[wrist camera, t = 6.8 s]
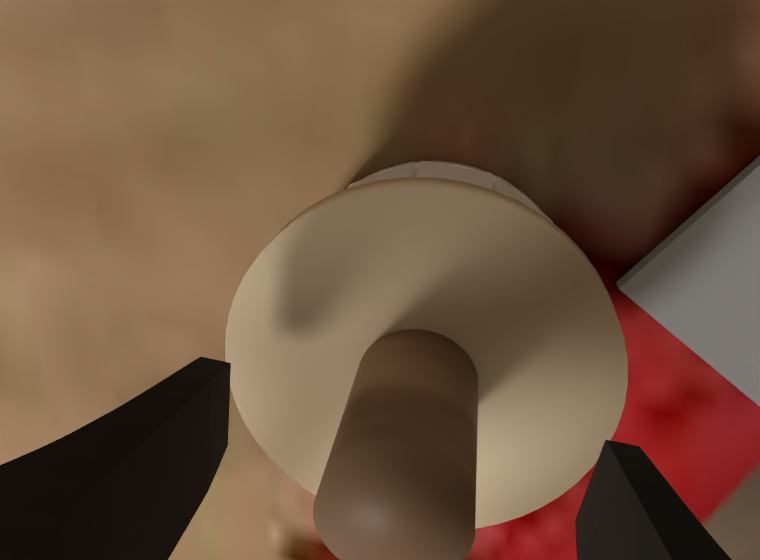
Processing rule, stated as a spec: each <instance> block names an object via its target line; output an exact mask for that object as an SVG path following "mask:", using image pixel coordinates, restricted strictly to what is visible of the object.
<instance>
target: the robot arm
mask: <svg viewBox="0 0 760 560" xmlns="http://www.w3.org/2000/svg"><path fill="white" fill-rule="evenodd" d="M230 372H231V363H228V362H223V361H219V360H214V359H209V358H204V357H200V358H198V359H196V360H195V361H193V362H191V363H190V364H188V365H187V366H185V367H183V368H182V369H180V370H179V371H177V372H175V373H174V374H172V375H171V376H169V377H167V378H166V379H164V380H163V381H161V382H159V383H158V384H156V385H155V386H153V387H151V388H150V389H148V390H147V391H145V392H143V393H142V394H140V395H138V396H137V397H135V398H133V399H132V400H130V401H128V402H127V403H125V404H123V405H122V406H120V407H118V408H117V409H115V410H113V411H111V412H109V413H107V414H106V415H104V416H102V417H100V418H98V419H96V420H95V421H93V422H91V423H89V424H87V425H85V426H83V427H82V428H80V429H78V430H76V431H74V432H72V433H71V434H68V435H66V436H64V437H62V438H60V439H58V440H56V441H54V442H52V443H50V444H48V445H46V446H44V447H41V448H39V449H37V450H35V451H32V452H30V453H28V454H26V455H23V456H21V457H19V458H16V459H14V460H12V461H9V462H7V463H4V464H2V465H0V560H168V558H169V557H170V555H171V553H172V552H173V550H174V548H175V547H176V545H177V543H178V541H179V540H180V538H181V536H182V535H183V533H184V531H185V530H186V528H187V526H188V525H189V523H190V521H191V519H192V518H193V516H194V514H195V513H196V511H197V509H198V507H199V506H200V504H201V502H202V501H203V499H204V497H205V495H206V494H207V492H208V490H209V488H210V485H211V483H212V481H213V479H214V476H215V474H216V472H217V470H218V467H219V465H220V462H221V460H222V458H223V455H224V453H225V450H226V448H227V446H228V423H229V397H230ZM575 521H576V545H577V560H731V559H730V558H729V556H728V555H727V554H726V553H725V552H724V551H723V549H722V548H721V547H720V546H719V545H718V544H717V542H716V541H715V540H714V539H713V538H712V537H711V536H710V534H709V533H708V532H707V531H706V529H705V528H704V527H703V526H702V525H701V523H700V522H699V521H698V520H697V519H696V517H695V516H694V515H693V514H692V512H691V511H690V510H689V509H688V507H687V506H686V505H685V504H684V502H683V501H682V500H681V499H680V497H679V496H678V495H677V494H676V492H675V491H674V490H673V488H672V487H671V486H670V485H669V483H668V482H667V481H666V480H665V478H664V477H663V476H662V474H661V473H660V472H659V471H658V469H657V468H656V467H655V466H654V464H653V463H652V462H651V460H650V459H649V458H648V457H647V456H646V454H645V453H644V452H643V451H642V450H641V448H640V447H639V446H634V445H629V444H625V443H620V442H615V441H610V440H605V442H604V445H603V448H602V450H601V453H600V456H599V458H598V461H597V464H596V466H595V469H594V472H593V474H592V477H591V480H590V482H589V485H588V488H587V490H586V493H585V496H584V498H583V501H582V504H581V507H580V509H579V512H578V515H577V517H576V520H575Z"/></svg>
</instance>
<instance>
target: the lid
mask: <svg viewBox="0 0 760 560" xmlns="http://www.w3.org/2000/svg"><path fill="white" fill-rule="evenodd" d="M225 360H226V362H228V363H231V372H230V387H231V390H232V394H233V397H234V400H235V403H236V405H237V407H238V410H239V412H240V414H241V416H242V418H243V421H244V422H245V424H246V426H247V427H248V429H249V431H250V432H251V434H252V435H253V437H254V439H255V440H256V441H257V443H258V444H259V445H260V446H261V448H262V449H263V450H264V452H265V453H266V454H267V455H268V457H269V458H270V459H271V460H272V461H273V462H274V463H275V464H276V465H277V466H278V467H279V468H280V469H281V470H282V471H283V472H284V473H285V474H287V475H288V476H289V477H290V478H292V479H293V480H294V481H295V482H296V483H298V484H299V485H300V486H301V487H303V488H304V489H306V490H308V491H309V492H311V493H312V494H314V495H315V496H316V497H315V501H314V507H313V516H314V522H315V526H316V529H317V531H318V534H319V536H320V537H321V539H322V541H323V542H324V544H325V545H326V546H327V548H328V549H329V550H330V551H331V552H332V553H333V554H334V555H335V556H336V557H337V558H339V559H340V560H463V559H464V558H465V557H466V556H467V554H468V553H469V551H470V549H471V547H472V544H473V541H474V537H475V529H476V528H481V527H486V526H491V525H496V524H500V523H503V522H506V521H509V520H512V519H515V518H518V517H521V516H523V515H526V514H528V513H530V512H532V511H534V510H537V509H539V508H541V507H543V506H544V505H546V504H548V503H549V502H551V501H553V500H554V499H556V498H558V497H559V496H561V495H562V494H563V493H565V492H566V491H567V490H568V489H570V488H571V487H572V486H573V485H575V484H576V483H577V482H578V481H579V480H580V479H581V478H582V477H583V476H584V475H585V474H586V473H587V472H588V471H589V470H590V469H591V468H592V467H593V466H594V464H595V463H596V462H597V460H598V458H599V456H600V453H601V450H602V448H603V445H604V442H605V440H611V438H612V436H613V434H614V432H615V430H616V428H617V426H618V423H619V420H620V417H621V414H622V411H623V408H624V403H625V397H626V391H627V385H628V359H627V353H626V347H625V341H624V335H623V332H622V329H621V326H620V323H619V320H618V317H617V314H616V311H615V309H614V306H613V304H612V301H611V298H610V296H609V293H608V291H607V289H606V288H605V286H604V284H603V282H602V280H601V278H600V276H599V274H598V272H597V271H596V269H595V268H594V266H593V265H592V264H591V262H590V261H589V260H588V258H587V257H586V255H585V254H584V253H583V251H582V250H581V249H580V248H579V247H578V246H577V245H576V244H575V243H574V242H573V241H572V240H571V239H570V238H569V237H568V236H567V235H566V234H565V233H564V231H562V230H561V229H560V228H558V227H557V226H556V225H555V224H553V223H552V222H551V221H549V220H548V219H547V218H546V217H544V216H543V215H542V214H540V213H538V212H537V211H535V210H533V209H532V208H530V207H528V206H526V205H525V204H523V203H521V202H520V201H518V200H516V199H513V198H511V197H509V196H506V195H504V194H501V193H499V192H497V191H494V190H492V189H489V188H485V187H481V186H478V185H474V184H471V183H467V182H463V181H456V180H449V179H442V178H435V177H402V178H393V179H384V180H377V181H373V182H369V183H365V184H361V185H357V186H353V187H350V188H348V189H345V190H343V191H340V192H338V193H335V194H333V195H330V196H328V197H326V198H324V199H323V200H321V201H319V202H317V203H316V204H314V205H312V206H310V207H309V208H307V209H305V210H304V211H303V212H302V213H300V214H299V215H298V216H296V217H295V218H294V219H292V220H291V221H290V222H289V223H287V224H286V225H285V226H284V227H283V228H282V229H281V230H280V232H279V233H278V234H277V235H276V236H275V237H274V238H273V239H272V240H271V241H270V242H269V243H268V245H267V246H266V247H265V248H264V249H263V251H262V252H261V253H260V254H259V256H258V257H257V258H256V260H255V261H254V263H253V264H252V266H251V267H250V268H249V270H248V271H247V273H246V274H245V276H244V278H243V280H242V282H241V284H240V286H239V288H238V290H237V292H236V294H235V297H234V300H233V303H232V307H231V310H230V313H229V316H228V323H227V330H226V337H225Z"/></svg>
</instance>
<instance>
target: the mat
mask: <svg viewBox="0 0 760 560" xmlns="http://www.w3.org/2000/svg"><path fill="white" fill-rule="evenodd" d="M616 284H617V286H618V288H619V290H621V291H622V292H623V293H624V294H625V295H627V296H628V297H629V298H630V299H631V300H633V301H634V302H635V303H636V304H637V305H639V306H640V307H641V308H642V309H643V310H645V311H646V312H647V313H648V314H649V315H651V316H652V317H653V318H654V319H655V320H657V321H658V322H659V323H660V324H661V325H663V326H664V327H665V328H666V329H667V330H669V331H670V332H671V333H672V334H673V335H675V336H676V337H677V338H678V339H679V340H681V341H682V342H683V343H684V344H685V345H687V346H688V347H689V348H690V349H691V350H693V351H694V352H695V353H696V354H697V355H699V356H700V357H701V358H702V359H703V360H705V361H706V362H707V363H708V364H709V365H711V366H712V367H713V368H714V369H715V370H716V371H718V372H719V373H720V374H721V375H722V376H724V377H725V378H726V379H727V380H728V381H730V382H731V383H732V384H733V385H734V386H736V387H737V388H738V389H739V390H740V391H742V392H743V393H744V394H745V395H746V396H748V397H749V398H750V399H751V400H752V401H754V402H755V403H756V404H757V405H758V406H760V155H759V156H758V157H757V158H756V159H755V160H754V161H753V162H752V163H750V164H749V165H748V166H747V167H746V168H745V169H744V170H743V171H741V172H740V173H739V174H738V175H737V176H736V177H735V178H733V179H732V180H731V181H730V182H729V183H728V184H727V185H726V186H724V187H723V188H722V189H721V190H720V191H719V192H718V193H717V194H715V195H714V196H713V197H712V198H711V199H710V200H709V201H707V202H706V203H705V204H704V205H703V206H702V207H701V208H700V209H698V210H697V211H696V212H695V213H694V214H693V215H692V216H691V217H689V218H688V219H687V220H686V221H685V222H684V223H683V224H681V225H680V226H679V227H678V228H677V229H676V230H675V231H674V232H672V233H671V234H670V235H669V236H668V237H667V238H666V239H665V240H663V241H662V242H661V243H660V244H659V245H658V246H657V247H655V248H654V249H653V250H652V251H651V252H650V253H649V254H648V255H646V256H645V257H644V258H643V259H642V260H641V261H640V262H639V263H637V264H636V265H635V266H634V267H633V268H632V269H631V270H629V271H628V272H627V273H626V274H625V275H624V276H623V277H622V278H620V279H619V280H618V281H617V282H616Z"/></svg>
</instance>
